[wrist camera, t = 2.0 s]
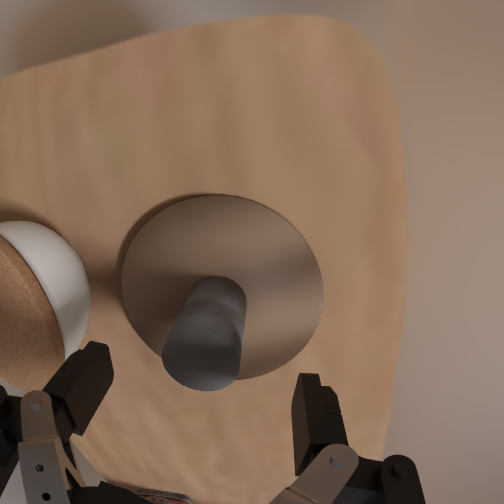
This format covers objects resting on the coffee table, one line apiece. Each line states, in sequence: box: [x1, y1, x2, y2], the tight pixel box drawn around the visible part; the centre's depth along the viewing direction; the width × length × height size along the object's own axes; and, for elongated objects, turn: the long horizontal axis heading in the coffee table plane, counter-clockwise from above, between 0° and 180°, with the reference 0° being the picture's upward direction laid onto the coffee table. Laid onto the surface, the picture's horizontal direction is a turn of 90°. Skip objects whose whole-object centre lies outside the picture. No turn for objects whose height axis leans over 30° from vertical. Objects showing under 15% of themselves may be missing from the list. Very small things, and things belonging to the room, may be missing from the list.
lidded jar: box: [0, 221, 91, 392], centre depth 15 cm, size 11×11×9 cm
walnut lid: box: [121, 194, 324, 391], centre depth 16 cm, size 13×13×7 cm
